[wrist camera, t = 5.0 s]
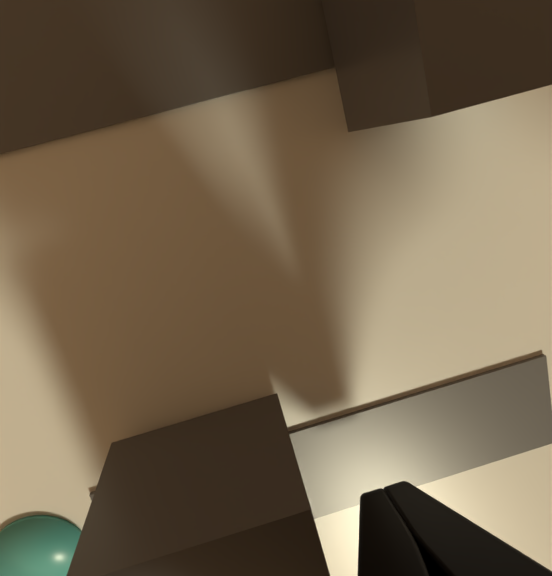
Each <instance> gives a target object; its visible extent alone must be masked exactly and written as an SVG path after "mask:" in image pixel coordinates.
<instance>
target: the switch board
mask: <svg viewBox="0 0 552 576" xmlns="http://www.w3.org/2000/svg"><path fill="white" fill-rule="evenodd" d="M276 393H277V394H278V398H279V401H280V405H281V408H282V411H283V415H284V418H285V422H286V425H287V428H288V432H289V435H290V439H291V442H292V445H293V449H294V452H295V456H296V459H297V462H298V466H299V469H300V473H301V476H302V479H303V483H304V486H305V490H306V493H307V496H308V500H309V503H310V507H311V510H312V514H313V517H314V521H315V524H316V528H317V531H318V535H319V538H320V542H321V545H322V549H323V552H324V556H325V559H326V563H327V566H328V570H329V573H330V576H357V575H358V544H359V512H360V496H361V495H362V494H363V493H366V492H369V491H372V490H375V489H379V488H382V489H383V488H384V487H385V486H388V485H392V484H395V483H398V482H401V481H406V482H409V483H411V484H412V485H414V486H415V487H417V488H419V489H420V490H422V491H423V492H425V493H427V494H428V495H430V496H432V497H433V498H435V499H436V500H438V501H440V502H441V503H443V504H444V505H446V506H448V507H449V508H451V509H452V510H454V511H456V512H457V513H459V514H461V515H462V516H464V517H465V518H467V519H469V520H470V521H472V522H473V523H475V524H477V525H478V526H480V527H482V528H483V529H485V530H486V531H488V532H490V533H491V534H493V535H494V536H496V537H498V538H499V539H501V540H502V541H504V542H506V543H507V544H509V545H511V546H512V547H514V548H515V549H517V550H519V551H520V552H522V553H523V554H525V555H527V556H528V557H530V558H531V559H533V560H535V561H536V562H538V563H540V564H541V565H543V566H544V567H546V568H548V569H549V570H551V571H552V85H549V86H545V87H541V88H538V89H534V90H530V91H527V92H523V93H519V94H515V95H512V96H508V97H504V98H501V99H497V100H493V101H490V102H486V103H482V104H478V105H475V106H471V107H467V108H464V109H460V110H456V111H453V112H449V113H445V114H441V115H438V116H434V117H430V118H424V119H419V120H413V121H408V122H402V123H397V124H391V125H386V126H380V127H375V128H369V129H364V130H358V131H353V132H348V128H347V124H346V119H345V114H344V109H343V104H342V99H341V94H340V89H339V84H338V79H337V74H336V69H335V65H334V60H333V55H332V50H331V45H330V40H329V35H328V30H327V25H326V20H325V15H324V10H323V6H322V1H321V0H0V576H67V573H68V570H69V567H70V564H71V561H72V558H73V555H74V552H75V549H76V546H77V543H78V540H79V537H80V534H81V531H82V528H83V525H84V523H85V520H86V517H87V514H88V511H89V508H90V505H91V502H92V499H93V496H94V493H95V490H96V487H97V484H98V481H99V478H100V475H101V472H102V469H103V466H104V463H105V460H106V458H107V455H108V452H109V449H110V446H111V443H112V442H116V441H119V440H122V439H126V438H129V437H132V436H136V435H139V434H142V433H146V432H149V431H152V430H156V429H159V428H162V427H166V426H169V425H172V424H176V423H179V422H182V421H186V420H189V419H192V418H196V417H199V416H202V415H206V414H209V413H212V412H216V411H219V410H222V409H226V408H229V407H232V406H236V405H239V404H242V403H246V402H249V401H252V400H256V399H259V398H262V397H266V396H269V395H272V394H276Z"/></svg>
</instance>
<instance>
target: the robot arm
mask: <svg viewBox="0 0 552 576" xmlns="http://www.w3.org/2000/svg"><path fill="white" fill-rule="evenodd" d="M357 576H552V571H551V570H549V569H548V568H546V567H544V566H543V565H541V564H540V563H538V562H536V561H535V560H533V559H531V558H530V557H528V556H527V555H525V554H523V553H522V552H520V551H519V550H517V549H515V548H514V547H512V546H511V545H509V544H507V543H506V542H504V541H502V540H501V539H499V538H498V537H496V536H494V535H493V534H491V533H490V532H488V531H486V530H485V529H483V528H482V527H480V526H478V525H477V524H475V523H473V522H472V521H470V520H469V519H467V518H465V517H464V516H462V515H461V514H459V513H457V512H456V511H454V510H452V509H451V508H449V507H448V506H446V505H444V504H443V503H441V502H440V501H438V500H436V499H435V498H433V497H432V496H430V495H428V494H427V493H425V492H423V491H422V490H420V489H419V488H417V487H415V486H414V485H412V484H411V483H409V482H406V481H401V482H398V483H395V484H392V485H388V486H385V487H384V488H383V489H382V488H379V489H375V490H372V491H369V492H366V493H363V494H362V495H361V496H360V512H359V544H358V575H357Z"/></svg>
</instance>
